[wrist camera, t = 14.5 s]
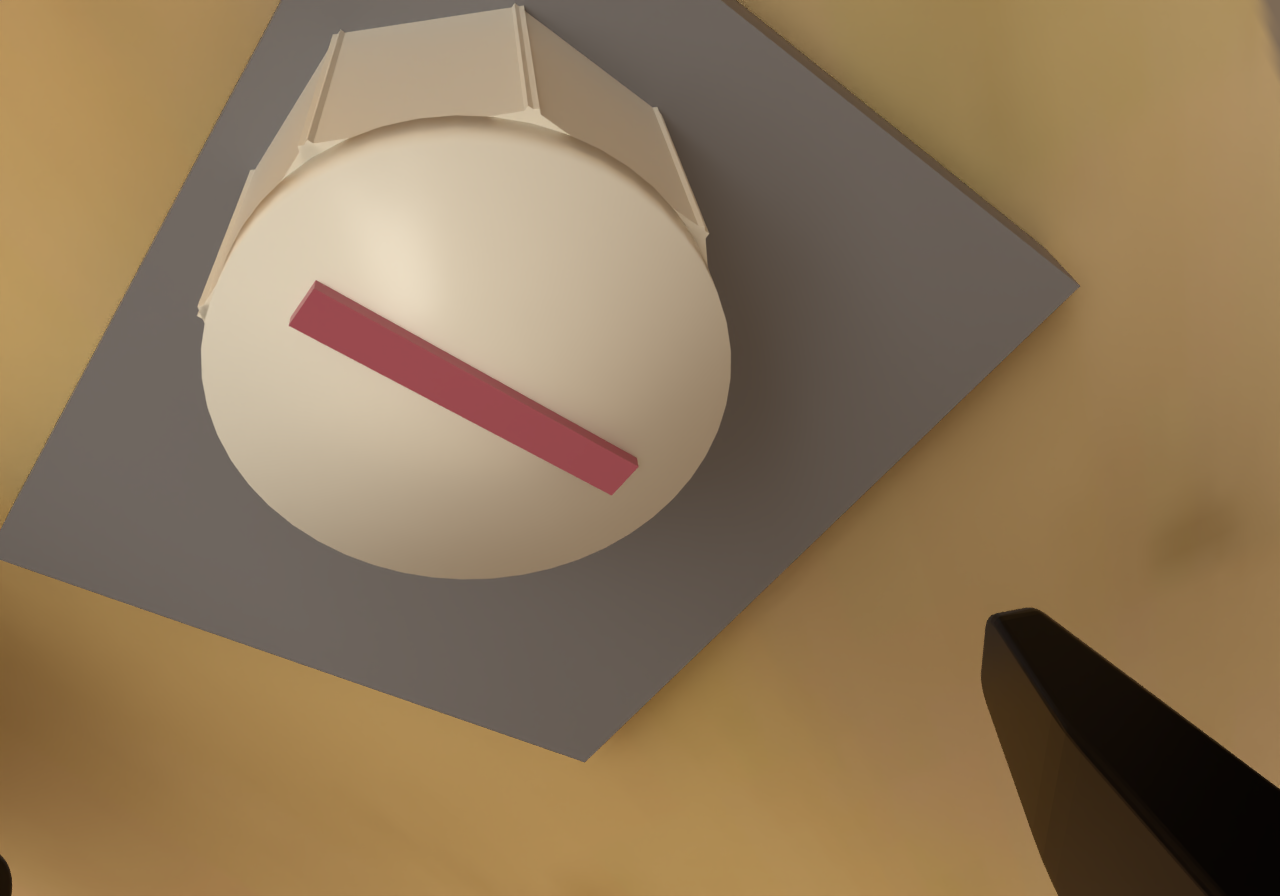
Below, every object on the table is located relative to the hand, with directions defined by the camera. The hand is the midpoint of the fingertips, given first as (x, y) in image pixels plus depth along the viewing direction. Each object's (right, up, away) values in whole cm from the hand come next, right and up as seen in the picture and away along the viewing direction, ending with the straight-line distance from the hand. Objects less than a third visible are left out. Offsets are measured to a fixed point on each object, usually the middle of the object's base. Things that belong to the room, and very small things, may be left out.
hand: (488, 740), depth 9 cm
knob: (-1, +6, +8) cm, 10 cm away
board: (-1, +4, +12) cm, 13 cm away
